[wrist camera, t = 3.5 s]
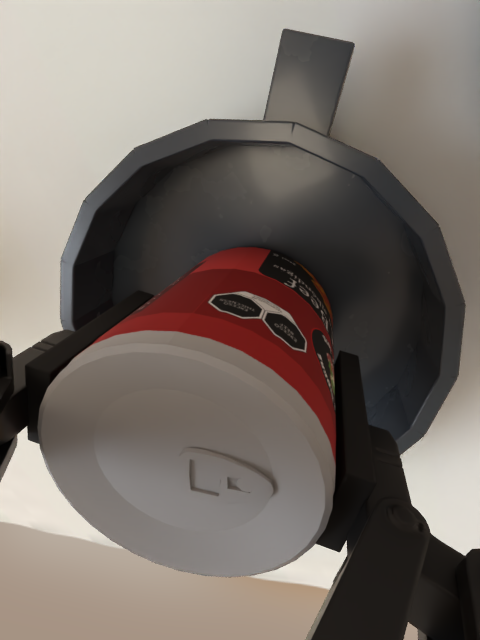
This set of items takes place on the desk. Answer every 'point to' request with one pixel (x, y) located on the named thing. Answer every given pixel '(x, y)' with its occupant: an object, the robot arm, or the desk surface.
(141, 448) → the canned food
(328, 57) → the pan
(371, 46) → the desk surface
